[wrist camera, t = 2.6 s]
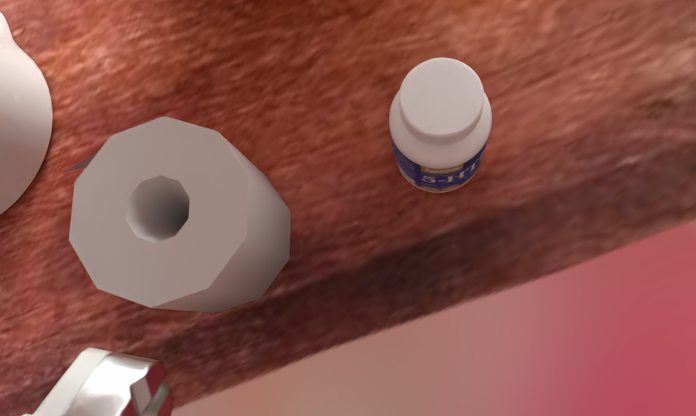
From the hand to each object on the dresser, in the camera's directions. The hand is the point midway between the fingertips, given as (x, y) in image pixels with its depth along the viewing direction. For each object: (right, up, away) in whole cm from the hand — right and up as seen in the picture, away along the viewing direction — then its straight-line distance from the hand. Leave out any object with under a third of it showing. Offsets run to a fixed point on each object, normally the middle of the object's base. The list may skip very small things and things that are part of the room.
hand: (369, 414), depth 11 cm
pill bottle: (+5, +7, +26) cm, 27 cm away
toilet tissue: (-9, +3, +27) cm, 29 cm away
